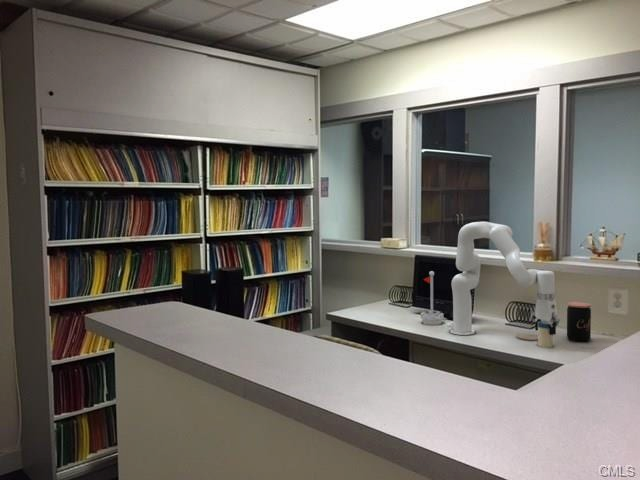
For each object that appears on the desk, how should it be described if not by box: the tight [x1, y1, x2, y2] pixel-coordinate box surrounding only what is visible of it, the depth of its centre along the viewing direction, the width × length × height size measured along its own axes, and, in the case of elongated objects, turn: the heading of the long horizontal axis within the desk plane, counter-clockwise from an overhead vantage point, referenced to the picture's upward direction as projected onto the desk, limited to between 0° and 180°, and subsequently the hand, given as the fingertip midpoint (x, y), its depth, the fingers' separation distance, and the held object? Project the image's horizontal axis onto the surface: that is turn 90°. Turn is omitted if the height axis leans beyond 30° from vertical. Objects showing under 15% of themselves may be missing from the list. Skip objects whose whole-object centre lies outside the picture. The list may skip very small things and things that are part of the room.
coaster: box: [516, 333, 538, 342], centre depth 272 cm, size 11×11×1 cm
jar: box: [537, 327, 554, 348], centre depth 257 cm, size 7×7×11 cm
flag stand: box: [420, 270, 445, 326], centre depth 309 cm, size 13×13×30 cm
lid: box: [537, 320, 553, 328], centre depth 257 cm, size 7×7×2 cm
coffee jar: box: [566, 301, 592, 343], centre depth 266 cm, size 11×11×18 cm
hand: (545, 332), depth 257 cm, fingers open, 8 cm apart
